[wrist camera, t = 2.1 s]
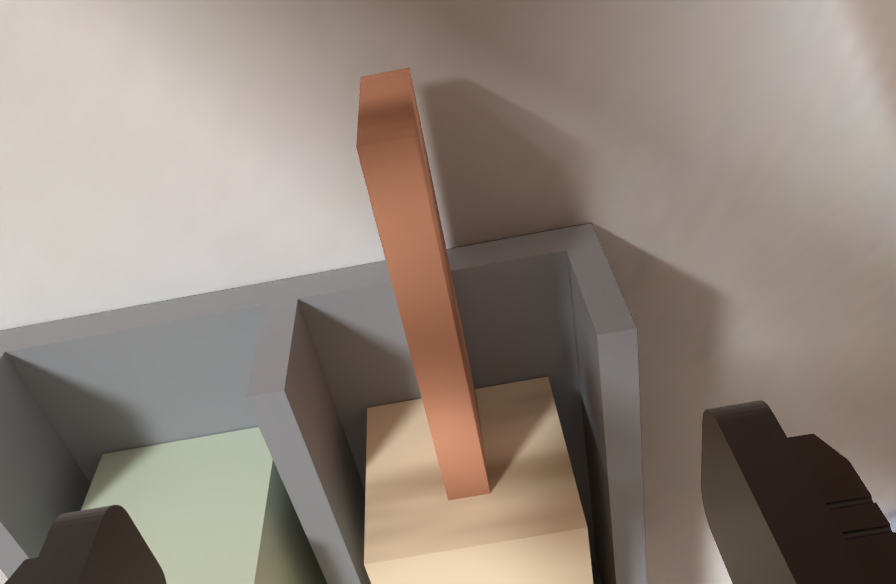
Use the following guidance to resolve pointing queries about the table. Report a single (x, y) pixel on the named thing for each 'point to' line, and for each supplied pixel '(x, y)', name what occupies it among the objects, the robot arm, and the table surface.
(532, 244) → the lane shelf
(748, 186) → the table surface
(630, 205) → the table surface
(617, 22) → the table surface
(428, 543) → the wooden handled block
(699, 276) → the table surface
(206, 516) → the sage block
